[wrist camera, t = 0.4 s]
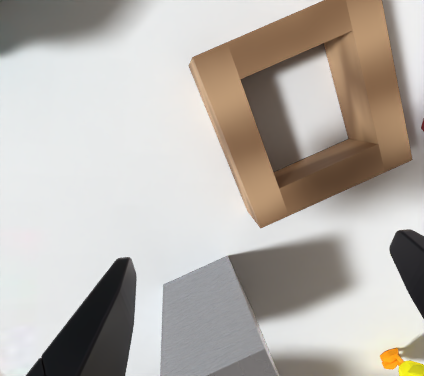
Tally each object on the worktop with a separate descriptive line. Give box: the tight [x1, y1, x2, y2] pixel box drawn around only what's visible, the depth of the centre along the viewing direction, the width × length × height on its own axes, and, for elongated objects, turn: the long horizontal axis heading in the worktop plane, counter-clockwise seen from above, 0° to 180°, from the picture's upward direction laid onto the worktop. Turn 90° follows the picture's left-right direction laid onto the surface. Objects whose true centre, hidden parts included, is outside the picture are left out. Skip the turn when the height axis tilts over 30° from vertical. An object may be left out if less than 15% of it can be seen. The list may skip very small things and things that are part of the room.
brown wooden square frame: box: [189, 0, 412, 228], centre depth 20 cm, size 12×12×4 cm
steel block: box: [160, 256, 279, 376], centre depth 21 cm, size 6×6×10 cm
